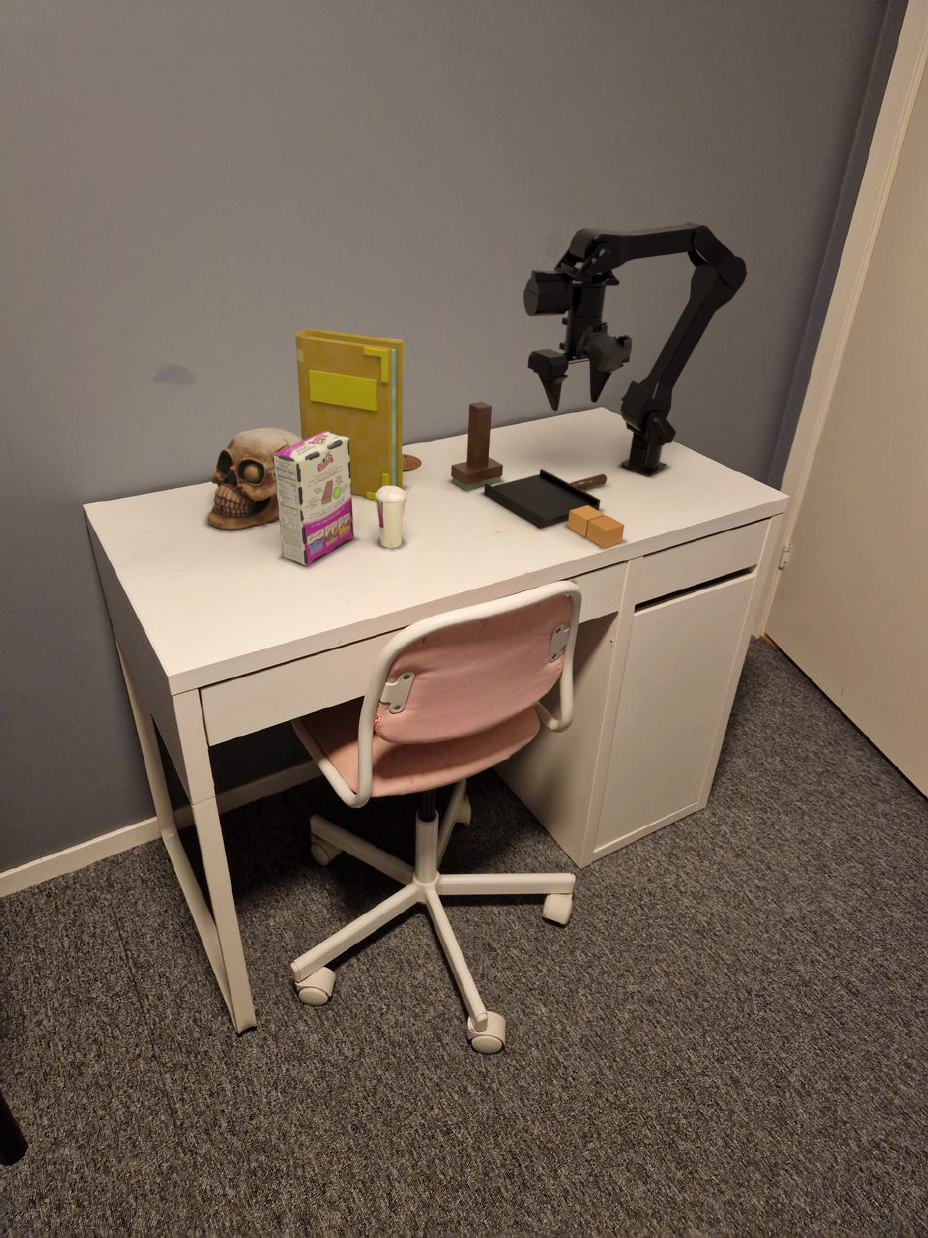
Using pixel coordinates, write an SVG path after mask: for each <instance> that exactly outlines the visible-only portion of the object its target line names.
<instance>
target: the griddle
mask: <svg viewBox="0 0 928 1238" xmlns="http://www.w3.org/2000/svg"><path fill="white" fill-rule="evenodd" d="M606 483H608V476H607V475H606V474H604V473H600V474H596V475H592V476H590V477H586V478H582V479H579V480H574V481H571V482H568V481H566V480H564V479H562V478H560V477H558V476H557V475H555V474H553V473H551V472H549V471H547V470H546V469H543V468H541V469H539V473H538V474H533V475H531V476H526V477H523V478H519V479H515V480H511V481H507V482H503V483H500V484H496V485H492V484H485V486H484V492H483V495H484V496H486V497H487V498H489V499H490V500H492V501H493V502H496V503H497V504H499V505H500V506H502V507H504V508H505V509H507V510H508V511H510V512H512V513H514V514H515V515H516V516H518V517H520V518H522V519H523V520H525V521H527V522H528V523H530V524H532V525H533V526H534V527H537V528H538V529H544V528H547V527H550V526H555V525H557V524H560V523H563V522H567V521H569V513H570V510H573V509H577V508H580V507H583V506H586V505H589V506H591V507H592V508H594V509H596V510H598V511H600V505H601V499H599V498H598V497H596V496H595V495H592V494H591V493H590V494H589V493H588V492H587V491H584V490H588V489H591V488H595V487H598V486H601V485H604V484H606Z"/></svg>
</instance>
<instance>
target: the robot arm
mask: <svg viewBox="0 0 928 1238" xmlns="http://www.w3.org/2000/svg"><path fill="white" fill-rule="evenodd" d="M682 253H684V254H686V256H687V259H688V261H689V262H690V264H691V265H692V266H693V268H695V269H694V272H693V274H692V277H691V280H690V292H689V298H688V301H687V304H686V305H685V307H684V309H683V311H682V313H681V314H680V316H679V318H678V320H677V322H676V324H675V326H674V327H673V329H672V332H671V333H670V335H669V337H668V338H667V341H666V342H665V344H664V346H663V348H662V350H661V351H660V354H659V355H658V357H657V359H656V361H655V362H654V364H653V366H652V368H651V370H650V371H649V373H648V375H647V376H646V377H645V378H644V379H642V380H641V381H639V382H638V381H636V380H632V381H631V382H630V383H629V386H628V388H627V390H626V393H625V394H624V395H623V397H621V399H620V401H621V402H622V403H621V406H620V411H619V412H620V414H621V418H622V419H623V420H624V422H625V425H626V427H625V428H626V429H627V430H629V431H630V432H632V438H631V446H630V450H629V455H628V456H629V457H628V459H627V460H625V461H623V462H621V463H620V467H621V468H623V469H628V470H630V471H633V472H636V473H639V474H642V475H645V476H650V477H651V476H653V475H655V474H656V473H659V472H660V471H662V470H664V469H666V468H667V463H665V462H662V461H661V459H662V453H663V447H664V446H665V445H666V444H671V443H672V442H673V440H674V439H675V437H676V435H677V430H676V429H675V428H674V427H673V426H672V424H670V422H669V420H668V416H669V413H670V411H671V409H672V398H673V389H674V387H675V385H676V384H677V382H678V380H679V378H680V377H681V375H682V373H683V372H684V369H685V368H686V365H687V364H688V362H689V360H690V358H691V357H692V355H693V353H694V351H695V349H696V347H698V344H699V342H700V340H701V338H702V337H703V335H704V333H705V332H706V329H707V328H708V326H709V324H710V322H711V321H712V319H713V317H714V315H715V313H716V312H717V311H719V310H720V309H722V308H723V307H724V306H726V304H728V303H729V302H730V301H732V300H733V299H734V297H735V296H736V294H737V293H738V291H739V290H740V289H741V287H742V286H743V285H744V283H745V281H746V279H747V276H748V270H747V264H746V261H745V260H744V259H743V258H742V257H740V256H737V255H735V254H734V253H733V252H732V251H731V250H730V249H729V248H728V247H727V246H726V245H725V244H724V243H723V242H722V241H720V239H719V238H717V237H716V235H715V234H714V233H713V232H712V230H711V229H710V227H708V226H707V225H706V224H705V225H704V224H701V223H698V222H695V221H688V222H686V223H684V224H675V225H669V226H668V225H667V226H662V227H661V226H659V227H652V228H651V227H650V228H645V229H637V230H629V231H621V230H613V229H605V228H597V227H596V228H595V227H583V228H580V229H578V230H577V231H576V232H575V234H574V235H573V237H572V238H571V241H570V244H569V247H568V248H567V249H566V251H565V253H564V254H563V255H562V256H561V257H560V259H559V260H558V262H557V263H556V264H555V266H554V268H553V270H542V269H532V270H531V273H530V278H529V279H528V280H527V282H526V284H525V287H524V288H523V293H522V302H523V308H524V311H525V313H526V315H527V316H528V317H548V316H563V315H565V314H566V313H567V316H564V317H561V325H564V326H566V328H565V335H564V342H563V341H561V342H559V345H558V349H559V350H561V351H563V352H558V351H556V350H552V349H551V348H542V349H538V350H532V351H531V353H529V355H528V357H527V367H526V368H527V369H529V370H532V372H533V373H535V374H536V375H538V377H539V380H540V382H541V385H542V386H543V389H544V391H545V395H546V398H547V400H548V403H549V406H550V409H551V410H552V411H553V412H558V409H559V406H560V400H561V393H562V386H563V382H564V381H565V380H566V379H567V378H568V377H569V375H568V374H566V372H568V369H569V365H573V364H580V363H585V362H588V363H589V394H590V396H589V397H590V402H591V403H594V404H596V403H597V402H598V401H599V398H600V397H601V394H602V393H603V390H604V388H605V386H606V384H607V383H608V380H609V379H610V377H611V375H612V374H613V373H614V372H616V371H617V370H619V369H621V368H623V367H625V364H626V363H630V361H631V353H632V349H633V338H632V337H631V336H629V334H624V335H619V336H618V337H617V336H615V335H614V336H611V335H610V334H608V333H609V332H608V330H609V326H608V325H609V324H608V321H604V320H603V317H604V309H605V302H606V295H607V294H606V293H607V287H617V286H619V285H620V284H621V283H620V280H619V279H618V278H617V277H616V275H615V274H614V273H613V270H615V269H618V268H620V267H622V266H623V265H624V264H626V263H628V262H631V261H633V260H640V259H647V258H654V257H662V256H668V255H675V254H682ZM578 266H579V267H580V268H579V267H578Z"/></svg>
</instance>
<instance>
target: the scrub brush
mask: <svg viewBox="0 0 928 1238" xmlns="http://www.w3.org/2000/svg"><path fill="white" fill-rule="evenodd" d="M492 414H493V406H492V405H491V404H488V403H487V402H484V401H478V402H473V403H469V404H468V421H467V440H466V441H467V443H466V460H465V461H464V462H460V463H459V462H458V463H455V464H452V465H451V466H450V467H451V468H450V477H452V479H451V482H452V483H453V484H454V485H456V486H458V487H460V488H461V489H463V490H464V491H470V490H475V489H478V488H482V487H485V484H489V485H493V484H497V483H500V482H501V480H502V479H501V478H502V477H503V470H504V465H503V464H502V463H500V462H499V461H496V460H495V459H493V458H491V457H490V448H491V447H490V446H491V432H492Z"/></svg>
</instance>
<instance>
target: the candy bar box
mask: <svg viewBox="0 0 928 1238" xmlns="http://www.w3.org/2000/svg"><path fill="white" fill-rule="evenodd" d="M273 460H274V469H275V479H276V490H277V499H278V508H279V518H278V519H279V528H280V536H281V537H280V538H281V547H282V548H281V549H282V556H283V558H284V559H286V560H289V561H291V562H295V563H297V564H300V565H302V566H305V567H307V566H310V565H311V564H314V563H315V562H316V561H318V560H321V558H323V557H325V556H326V555H328V554H330V553H332V552H333V551H334V550H336V549H338V548H340V547H341V546H343V545H345V544H346V543H348V542H349V541H351V540H352V539H354V537H355V536H354V523H353V522H354V521H353V520H354V518H353V501H352V494H351V476H350V457H349V438H347V437H344V436H340V435H337V434H334V433H331V432H327V431H323V432H321V433H319V434H317V435H315V436H312V437H310V438H308V439H306V440H303V441H301V442H299V443H297V444H295V445H292V446H290V447H288V448H286V449H284V450H281V451H279V452H277V453H275V454H273Z"/></svg>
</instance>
